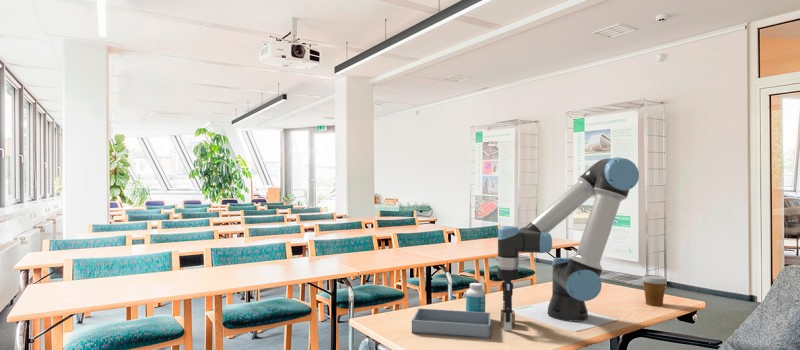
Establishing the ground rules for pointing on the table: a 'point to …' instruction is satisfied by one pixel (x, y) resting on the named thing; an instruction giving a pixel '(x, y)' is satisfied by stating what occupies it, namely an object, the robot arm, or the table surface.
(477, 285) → the pill bottle
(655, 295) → the disposable coffee cup
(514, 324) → the walnut cube
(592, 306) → the table surface
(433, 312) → the tote
